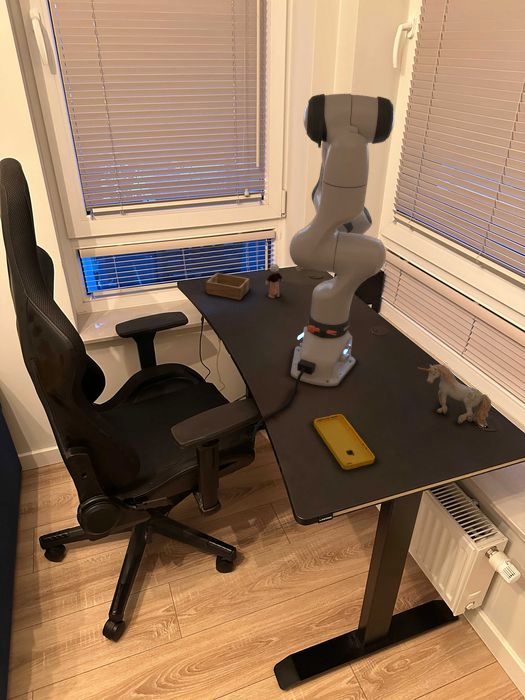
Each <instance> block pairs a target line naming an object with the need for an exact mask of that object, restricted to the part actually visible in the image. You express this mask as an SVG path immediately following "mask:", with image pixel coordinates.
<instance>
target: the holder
mask: <svg viewBox="0 0 525 700" xmlns="http://www.w3.org/2000/svg"><path fill="white" fill-rule="evenodd" d="M250 281H251V280H250V278H249V277H244V276H237V275H232V274H226V273H221V272H215V273H214V274H213V275H212V276H211V277H210V278H209V279H208V280H206V281H205V286H206V287H205V288H206V289H205V291H206V294H207V295H213V296H219V297H225V298H229V299H233V300H242V299H243V297H244V296H245V295H246V294H247V293H248V292H249V290H250Z"/></svg>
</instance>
